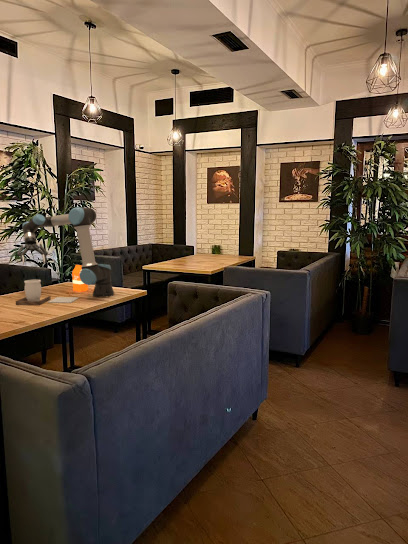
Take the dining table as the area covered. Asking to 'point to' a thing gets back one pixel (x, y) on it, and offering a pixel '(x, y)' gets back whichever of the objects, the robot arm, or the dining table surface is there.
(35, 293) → the jar
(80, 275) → the robot arm
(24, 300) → the dark brown wooden board
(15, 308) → the dining table surface
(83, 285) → the orange juice
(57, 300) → the grey mat
